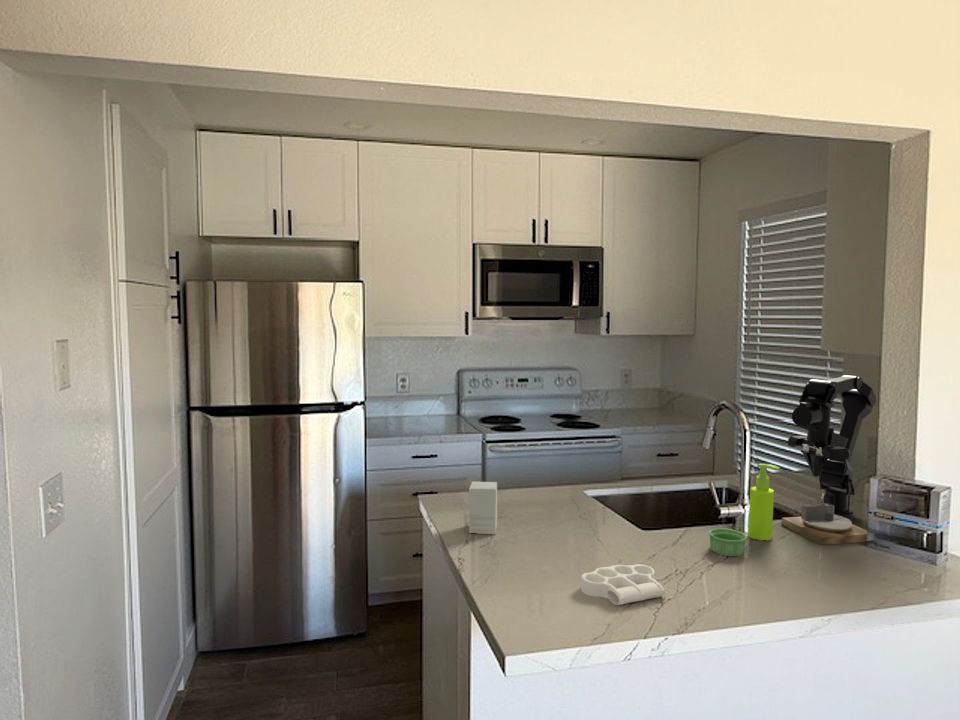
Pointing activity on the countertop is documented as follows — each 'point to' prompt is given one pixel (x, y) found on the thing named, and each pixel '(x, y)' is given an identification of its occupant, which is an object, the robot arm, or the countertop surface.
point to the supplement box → (483, 507)
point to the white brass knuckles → (622, 583)
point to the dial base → (825, 532)
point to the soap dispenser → (761, 505)
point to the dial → (824, 518)
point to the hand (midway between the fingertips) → (815, 476)
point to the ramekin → (727, 541)
